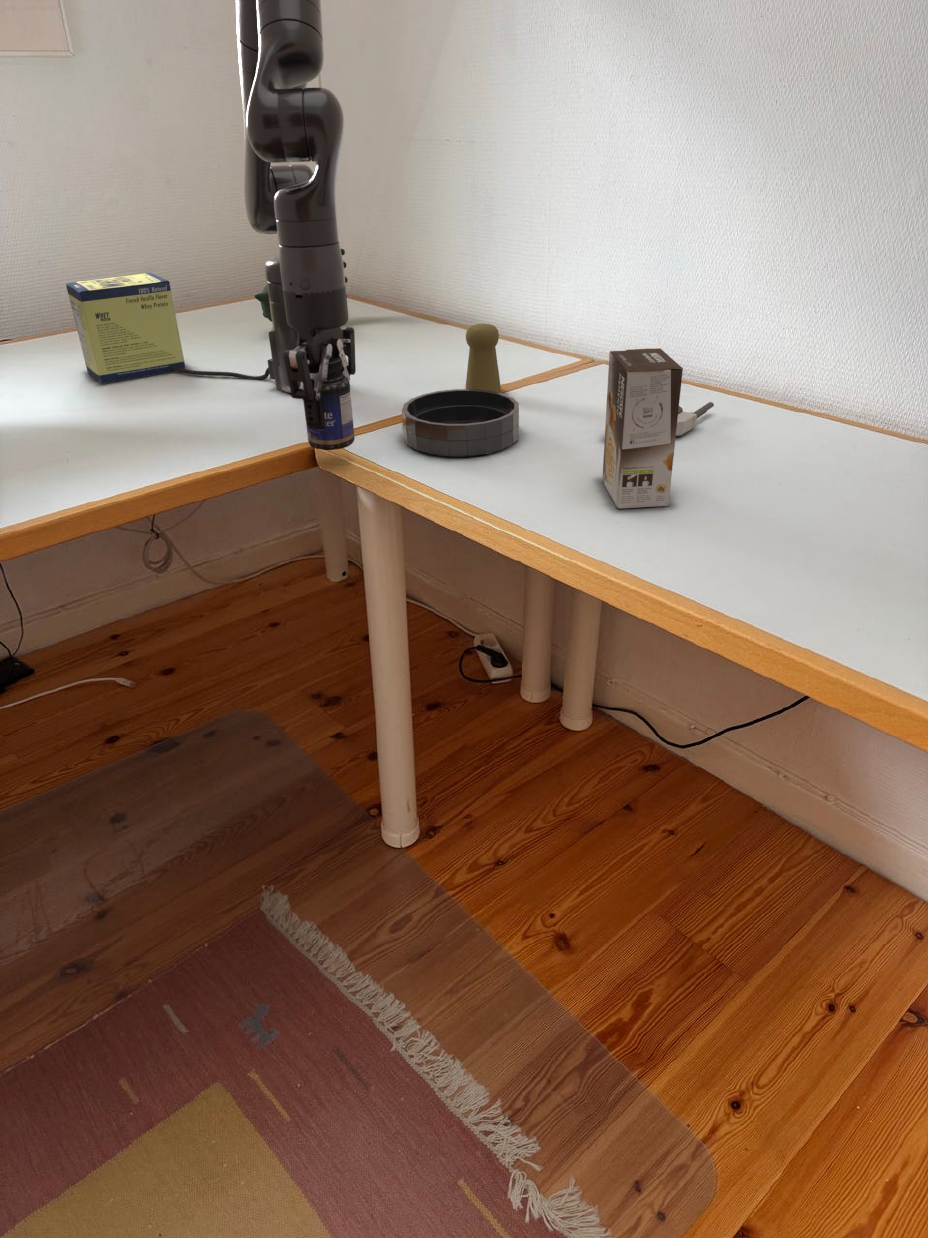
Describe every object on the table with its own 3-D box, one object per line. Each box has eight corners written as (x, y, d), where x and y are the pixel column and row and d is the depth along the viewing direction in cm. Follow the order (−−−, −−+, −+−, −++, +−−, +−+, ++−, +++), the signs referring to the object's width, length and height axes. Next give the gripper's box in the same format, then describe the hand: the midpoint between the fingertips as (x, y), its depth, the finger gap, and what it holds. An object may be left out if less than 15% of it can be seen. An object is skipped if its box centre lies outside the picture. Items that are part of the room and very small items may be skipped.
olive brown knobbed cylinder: (498, 401, 135) (498, 329, 129) (461, 399, 136) (459, 328, 130) (504, 389, 140) (504, 320, 134) (468, 388, 141) (466, 319, 135)
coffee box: (670, 506, 99) (685, 367, 91) (616, 510, 99) (626, 370, 90) (649, 477, 107) (661, 346, 99) (599, 479, 107) (607, 349, 98)
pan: (385, 451, 117) (382, 418, 115) (431, 415, 130) (429, 385, 128) (496, 464, 112) (496, 430, 110) (533, 425, 125) (533, 394, 122)
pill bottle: (300, 448, 111) (288, 363, 106) (322, 433, 116) (312, 351, 110) (342, 453, 109) (333, 366, 104) (363, 437, 114) (355, 354, 109)
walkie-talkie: (657, 455, 113) (717, 414, 127) (660, 423, 111) (721, 385, 124) (599, 443, 118) (663, 404, 131) (600, 411, 116) (665, 376, 129)
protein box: (187, 369, 156) (170, 279, 148) (100, 385, 149) (77, 291, 141) (169, 357, 163) (152, 271, 155) (85, 372, 156) (62, 282, 148)
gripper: (316, 272, 109) (330, 401, 118) (254, 293, 98) (275, 435, 107) (368, 274, 107) (379, 405, 116) (311, 296, 95) (328, 440, 104)
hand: (329, 419), depth 111 cm, fingers closed on pill bottle, 6 cm apart
